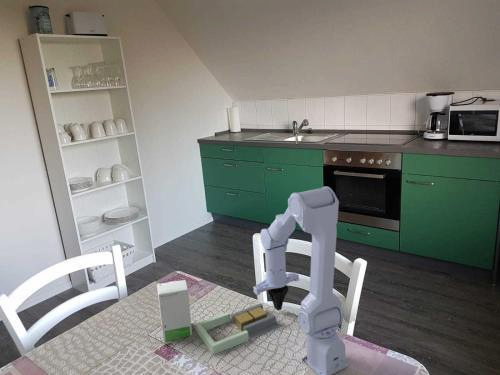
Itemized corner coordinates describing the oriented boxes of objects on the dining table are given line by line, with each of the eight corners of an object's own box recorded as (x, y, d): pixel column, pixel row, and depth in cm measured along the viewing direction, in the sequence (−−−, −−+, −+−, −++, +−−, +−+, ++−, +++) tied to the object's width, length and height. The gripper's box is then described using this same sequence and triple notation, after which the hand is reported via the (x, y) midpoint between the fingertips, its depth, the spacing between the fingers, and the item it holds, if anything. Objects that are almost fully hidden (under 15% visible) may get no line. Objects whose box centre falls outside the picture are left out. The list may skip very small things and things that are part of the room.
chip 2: (267, 322, 115) (267, 313, 115) (255, 327, 114) (255, 317, 113) (260, 315, 119) (259, 306, 118) (248, 320, 117) (248, 311, 116)
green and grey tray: (279, 331, 113) (279, 319, 112) (213, 358, 104) (212, 346, 103) (258, 311, 123) (257, 300, 122) (196, 334, 114) (195, 323, 113)
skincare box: (163, 345, 110) (156, 295, 106) (162, 331, 116) (155, 283, 112) (194, 338, 112) (188, 289, 108) (191, 325, 119) (185, 278, 114)
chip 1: (254, 327, 113) (253, 318, 113) (241, 332, 112) (241, 323, 111) (247, 320, 117) (246, 311, 116) (235, 325, 115) (234, 316, 114)
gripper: (288, 255, 122) (290, 295, 126) (247, 268, 116) (250, 309, 119) (302, 263, 116) (303, 305, 120) (259, 278, 110) (262, 321, 113)
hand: (277, 308), depth 119 cm, fingers closed
